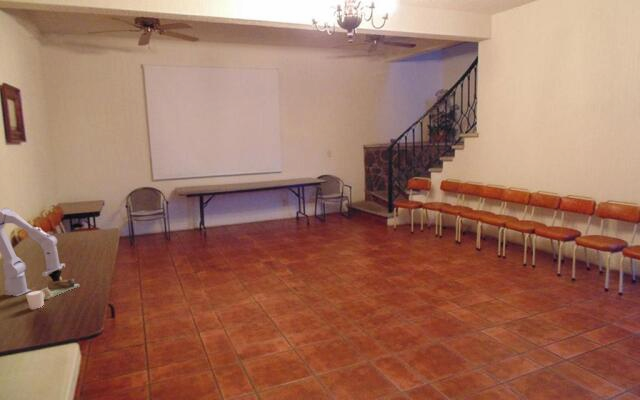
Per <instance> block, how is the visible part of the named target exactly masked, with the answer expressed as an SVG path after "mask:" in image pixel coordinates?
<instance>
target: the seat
mask: <svg viewBox="0 0 640 400" xmlns="http://www.w3.org/2000/svg"><path fill="white" fill-rule="evenodd" d="M59 280H60V281H62V280H63V277H62V276H60V278H59ZM77 287H78V288H80V287H81V285H80V284H79V283H75V285H74V286H72V287H63V288H54V289H48V286H47V287H45V288H42V289H41V290H42V291H43V297H44V300H47V299H49V298H51V297H54V296H56V295H58V296H60V295H59V294H61V293H63V294H65V293H64V292H66V291H68V290H70V291H72V290H71V289H73V290H75V289H78V288H77ZM74 288H75V289H74ZM30 290H32V291H31V292H33V291H38V290H37V286H35V287H31V289H30ZM68 292H69V291H68ZM66 293H67V292H66ZM61 295H62V294H61ZM56 297H57V296H56ZM54 298H55V297H54ZM51 299H52V298H51ZM49 300H50V299H49Z"/></svg>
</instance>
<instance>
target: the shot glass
mask: <svg viewBox="0 0 640 400" xmlns="http://www.w3.org/2000/svg"><path fill="white" fill-rule="evenodd" d="M25 297H26V300H27V304H28V306H29V307H28V308H29V310H37V308H39V309H41V308H43V307H44V306H45V301H44V300H45V299H44V297H43V291H42V289H40V290H39V289H38V290H37V291H33V292H32V291H29V292H27V293H25ZM43 305H44V306H43ZM42 306H43V307H42ZM40 307H41V308H40Z"/></svg>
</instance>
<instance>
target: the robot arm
mask: <svg viewBox="0 0 640 400" xmlns="http://www.w3.org/2000/svg"><path fill="white" fill-rule="evenodd" d="M7 224H13V225H15V226H17V228H18V227H19V228H20V229H22V230H24V231H25V232H27V234H28V237H30V238H31V239H33V240H34V241H35V242H37V243H39V245H40V247H41V249H42V250H43V252H44V259H45V263H46V269H45V270H44V271H42V272H41V275H42V277H48V276H49V277H50V279H51V280H52V282H53V281H60V280H59V278H60V277H61V274H62V273H63V272H62V270H61V269H63V268H65V267H66V263H60V259H59V253H58V247H57V244H58V238H57V237H56V236H55V235H53V234H52V235H51V234H49V233H47V232H45V231H44V230H42V228H41V227H38V226H33V225H31V224H30V223H28V221H26V220H25V219H23V217H21V216H20V215H18V213H17V212H16V211H15V210H12V208H10V207H3V208H0V255H1V257H2V259H3V264H2V268H3V274H4V276H5V277H6V278H5V280H4V287H5V292H6V293H4V295H5V296H11V295H13V296H12V297H19V296H22V295H24V294H27V293H29V292H32V290H31V289H29V288H28V285H27V280H26V273H25V271H26V270H27V265H26V263H25V262H24V261H23V260H22V259H21V258H20V257H18V256H17V255H16V253H15V250H14V248H13V246H12V243H11V242H10V239H9V237H8V234H7V233H6V231H5V229H4V228H5V226H6V225H7Z"/></svg>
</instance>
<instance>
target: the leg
mask: <svg viewBox="0 0 640 400" xmlns="http://www.w3.org/2000/svg"><path fill="white" fill-rule="evenodd" d="M75 284H76V283H75V279H74V278H70V279H62V281H53V280H52V281H49V282H47V287H48V289H54V288H63V287H72V286H74V285H75Z"/></svg>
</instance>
